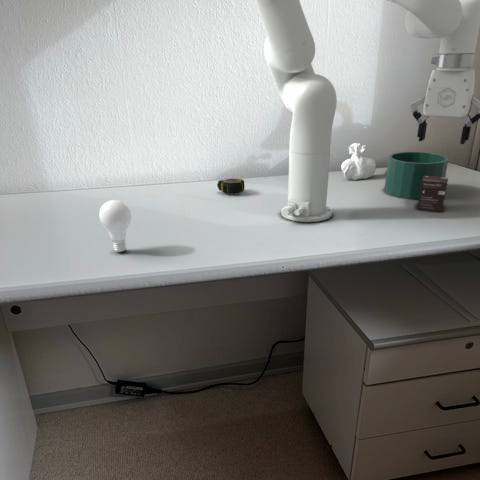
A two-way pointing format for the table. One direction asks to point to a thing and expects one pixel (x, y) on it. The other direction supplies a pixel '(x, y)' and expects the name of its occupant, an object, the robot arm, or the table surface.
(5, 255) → the table surface
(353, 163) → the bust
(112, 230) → the lightbulb
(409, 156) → the pot
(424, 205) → the box
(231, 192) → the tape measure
